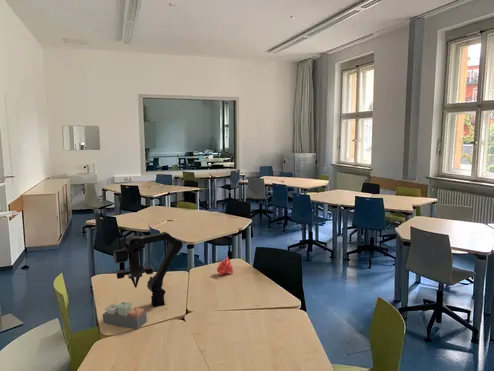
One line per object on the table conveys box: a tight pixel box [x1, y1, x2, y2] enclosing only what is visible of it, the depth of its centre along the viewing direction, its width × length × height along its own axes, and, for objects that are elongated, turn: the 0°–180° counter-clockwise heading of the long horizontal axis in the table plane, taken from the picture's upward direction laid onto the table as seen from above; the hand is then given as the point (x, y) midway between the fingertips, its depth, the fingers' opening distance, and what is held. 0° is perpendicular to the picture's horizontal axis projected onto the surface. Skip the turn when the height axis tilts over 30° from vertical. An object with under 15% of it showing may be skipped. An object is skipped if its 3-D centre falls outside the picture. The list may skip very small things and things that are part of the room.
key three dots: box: [128, 307, 145, 318], centre depth 190 cm, size 6×6×7 cm
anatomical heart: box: [216, 256, 234, 276], centre depth 257 cm, size 9×12×12 cm
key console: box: [102, 311, 148, 330], centre depth 192 cm, size 8×21×5 cm, turn 71°
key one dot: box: [104, 303, 119, 314], centre depth 194 cm, size 6×6×7 cm
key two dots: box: [116, 301, 133, 316], centre depth 192 cm, size 6×6×7 cm
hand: (135, 287), depth 205 cm, fingers closed
